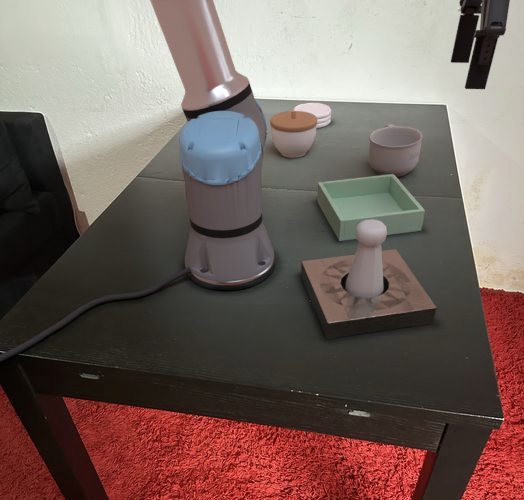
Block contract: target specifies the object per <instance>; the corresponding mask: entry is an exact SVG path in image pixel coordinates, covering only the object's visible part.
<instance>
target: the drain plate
mask: <svg viewBox="0 0 524 500" xmlns="http://www.w3.org/2000/svg"><path fill="white" fill-rule="evenodd" d="M355 254H356V253H355ZM355 254H348V255H340V256H331V257H323V258H316V259H308V260H301V265H300V266H301V268H300V278H301V280H302V283H303V284H304V287H305V290H306V292H307V294H308V297H309V300H310V301H311V304H312V306H313V309H314V311H315V313H316V316H317V319H318V321H319V323H320V325H321V328H322V331H323V333H324V335H325V338H326V340H331V339H337V338H343V337H345V338H346V337H350V336H357V335H363V334H364V335H365V334H370V333H371V334H372V333H377V332H385V331H391V330H397V329H404V328H410V327H413V328H414V327H418V326H419V327H420V326H426V325H433V323H434V319H435V315H436V311H437V306H436V305H435V304H434V302H433V301H432V298H430V296H429V294H428V293H427V292H426V290H425V289H424V287H423V286H422V285H421V283H420V282H419V280H418V279H417V277H416V276H415V274H414V273H413V271H412V270H411V269H410V267H409V266H408V264H407V263H406V261H405V260H404V258H403V257H402V256H401V253H399V251H398V250H397V249H396V248H393V249H386V250H382V267H383V288H384V290H383V292H382V294H381V295H379V296H377V297H370V298H365V297H357V296H355V295H352V294H349V293H348V292H347V291H346V289H345V285H346V280H347V277H348V274H349V271H350V268H351V265H352V262H353V260H354V257H355Z"/></svg>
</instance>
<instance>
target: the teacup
mask: <svg viewBox="0 0 524 500" xmlns="http://www.w3.org/2000/svg"><path fill="white" fill-rule="evenodd" d="M423 137H424V136H423V133H422V132H421V131H420V130H418V129H417V128H413V127H409V126H404V125H403V126H402V125H399V126H397V125H394V124H393V123H388V124H386V125H385V127H381V128H377V129H375V130H374V131H372V132H371V133H370V134H369V137H368V139H369V149H368V152H369V153H368V154H369V155H368V156H369V164H370V166H371V168H372V169H373V170H374V171H376V172H377V174H379V175H389V174H394V175H395V176H396V177H397V178H399V177H402V176H405V175H407V174H408V173H409V172H411V171H412V170H414V169H415V168H416V166H417V164H418V162H419V158H420V155H421V148H422V141H423Z"/></svg>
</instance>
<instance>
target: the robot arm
mask: <svg viewBox="0 0 524 500" xmlns="http://www.w3.org/2000/svg"><path fill="white" fill-rule="evenodd" d="M149 1H150V4H151V6H152V9H153V11H154V14H155V16H156V19H157V22H158V24H159V27H160V29H161V33H162V34H163V36H164V40H165V42H166V45H167V47H168V50H169V53H170V55H171V58H172V61H173V63H174V65H175V68H176V71H177V73H178V76H179V78H180V81H181V83H182V86H183V89H184V95H183V97H182V101H181V102H180V103H181V104H180V106H181V107H180V108H181V109H182V112H183V114H184V116H185V119H186V122H187V123H186V124H184V125H183V127H182V129H181V131H180V134H179V141H178V142H179V148H178V156H179V159H180V164H181V168H182V169H181V170H182V175H183V183H184V189H185V196H186V202H187V203H186V204H187V209H188V217H189V223H190V230H189V235H188V239H187V243H186V247H185V253H184V267H185V268H183V269H180V270H179V271H178V272H176V273H173V274H171V275H169V276H168V277H166V278H164V279H162V280H160V281H159V282H158V283H156V284H153V285H152V286H149V287H148V288H145V289H142V290H138V291H133V292H127V293H126V292H125V293H115V294H108V295H104V296H100V297H97V298H94V299H92V300H90V301H88V302H86V303H84V304H83V305H80V306H79V307H78V308H76V309H74V311H72V312H70V313H69V314H68V315H67V316H65V317H63V318H62V319H60V320H59V321H58V322H56V323H54V324H53V325H50V326H49V327H47V328H45V329H44V330H42V331H41V332H39V333H38V334H37V335H34V336H32V337H31V338H29V339H28V340H26V341H24V342H23V343H21V344H18V345H17V346H15V347H13V348H11V349H9V350H7V351H5V352H2V353H1V354H0V363H2V362H4V361H6V360H8V359H10V358H12V357H14V356H16V355H18V354H20V353H22V352H24V351H26V350H27V349H29V348H30V347H31V348H32V347H33V346H34V345H36V344H38V343H39V342H41V341H43V340H44V339H46V338H47V337H49V336H51V335H52V334H53V333H55V332H57V331H59V330H60V329H62V328H64V327H65V326H66V325H68V324H69V323H71V322H72V321H73V320H75V319H76V318H78V317H79V316H81V315H82V314H84V313H85V312H86V311H88V310H89V309H92V308H94V307H96V306H98V305H101V304H104V303H108V302H114V301H122V300H123V301H124V300H132V299H139V298H142V297H146V296H148V295H151V294H153V293H155V292H157V291H159V290H161V289H162V288H164V287H165V286H168V285H169V284H171V283H173V282H174V281H176V280H179V279H180V278H182V277H184V276H188V278H189V279H190V280H191V281H192V282H193V283H195V284H197V285H198V286H201V287H203V288H206V289H210V290H214V291H236V290H238V291H239V290H244V289H247V288H250V287H254V286H255V285H258V284H260V283H261V282H264V281H265V280H266V279H268V277H270V276H271V274H272V273H273V271H274V270H275V266H276V259H275V258H276V256H275V255H276V253H275V249H274V246H273V244H272V241H271V239H270V237H269V234H268V231H267V229H266V227H265V224H264V219H263V192H262V188H263V187H262V170H263V162H264V161H263V159H264V152H265V146H266V142H267V135H268V133H267V132H268V126H267V120H266V116H265V113H264V111H263V110H262V107H261V106H260V104H259V103H258V101H257V100H256V98H255V95H254V92H253V89H252V86H251V84H250V80H249V78H248V77H247V76H245V75H243V74H241V73H240V72H238V71H237V69H236V66H235V63H234V60H233V57H232V55H231V51H230V48H229V45H228V42H227V40H226V39H227V38H226V36H225V33H224V30H223V26H222V24H221V21H220V18H219V14H218V11H217V8H216V5H215V2H214V0H149ZM510 3H511V0H459V7H460V9H459V11H460V14H459V19H458V25H457V29H456V34H455V38H454V42H453V43H454V44H453V49H452V52H451V58H450V63H451V64H469V67H468V71H467V76H466V80H465V83H464V84H465V85H464V89H465V90H486V87H487V83H488V79H489V75H490V71H491V67H492V64H493V60H494V56H495V52H496V48H497V44H498V39H499V38H500V37H501V36H504V35H505V34H506V32H507V31H506V30H507V22H508V16H509V9H510ZM479 20H480V23H479ZM478 24H479V29H477V28H478ZM472 49H473V50H472ZM470 58H471V59H470Z"/></svg>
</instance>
